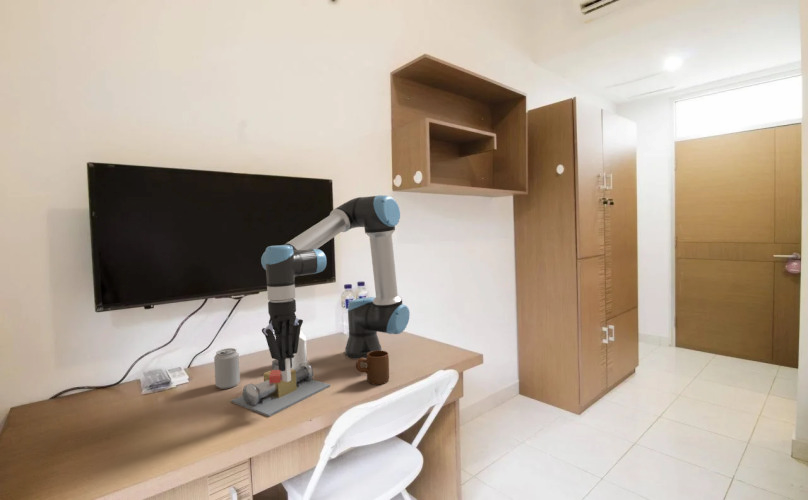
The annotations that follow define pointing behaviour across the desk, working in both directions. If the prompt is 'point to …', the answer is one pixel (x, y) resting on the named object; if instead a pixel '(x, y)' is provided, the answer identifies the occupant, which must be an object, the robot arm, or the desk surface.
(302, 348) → the jar
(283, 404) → the mat
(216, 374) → the can
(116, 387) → the desk surface
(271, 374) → the lever
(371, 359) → the mug
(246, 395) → the valve
